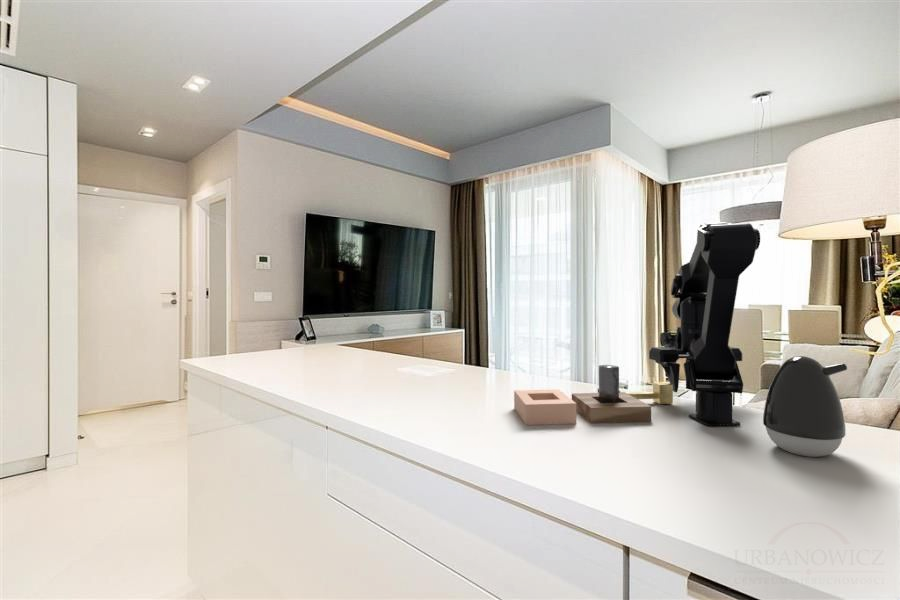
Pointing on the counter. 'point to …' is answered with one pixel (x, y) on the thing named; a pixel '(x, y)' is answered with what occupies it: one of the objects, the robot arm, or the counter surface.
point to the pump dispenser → (805, 408)
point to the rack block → (544, 407)
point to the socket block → (611, 408)
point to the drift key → (657, 393)
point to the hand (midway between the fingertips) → (694, 391)
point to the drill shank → (608, 384)
